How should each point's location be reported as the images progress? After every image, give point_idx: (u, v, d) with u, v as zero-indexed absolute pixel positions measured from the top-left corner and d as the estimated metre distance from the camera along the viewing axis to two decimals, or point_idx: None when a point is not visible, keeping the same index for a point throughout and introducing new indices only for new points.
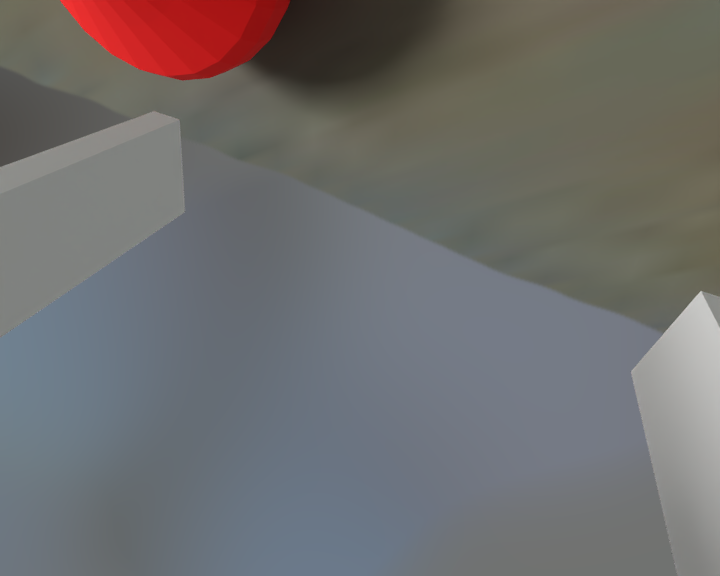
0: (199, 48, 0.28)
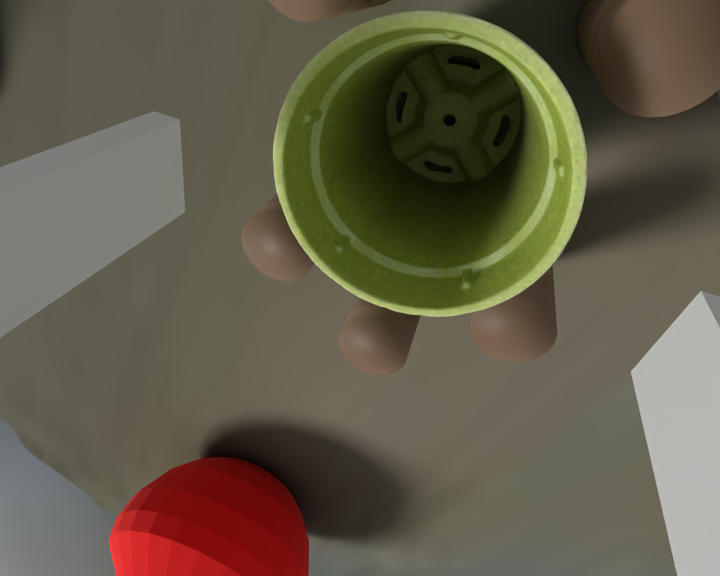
0: None
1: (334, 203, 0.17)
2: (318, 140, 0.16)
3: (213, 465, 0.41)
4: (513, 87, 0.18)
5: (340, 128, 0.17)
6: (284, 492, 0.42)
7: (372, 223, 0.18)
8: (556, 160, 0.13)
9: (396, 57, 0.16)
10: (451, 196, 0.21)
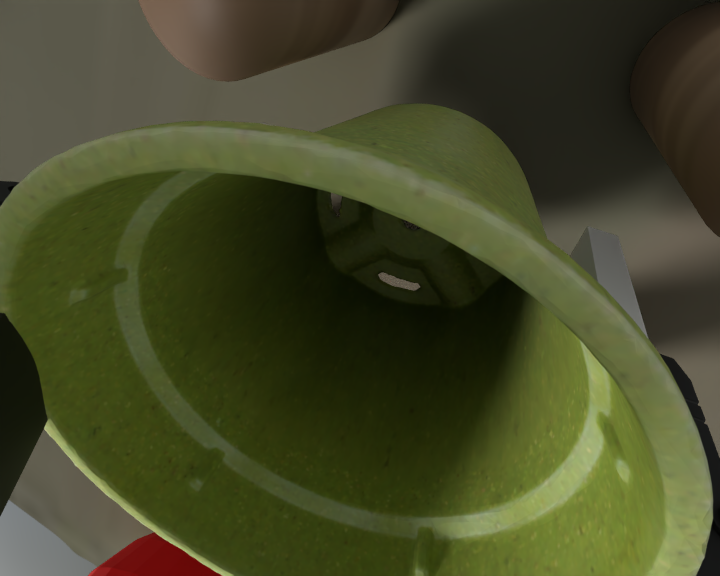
0: None
1: (193, 393, 0.10)
2: (139, 306, 0.08)
3: None
4: None
5: (198, 268, 0.09)
6: None
7: (274, 408, 0.11)
8: (608, 424, 0.06)
9: None
10: (417, 334, 0.13)
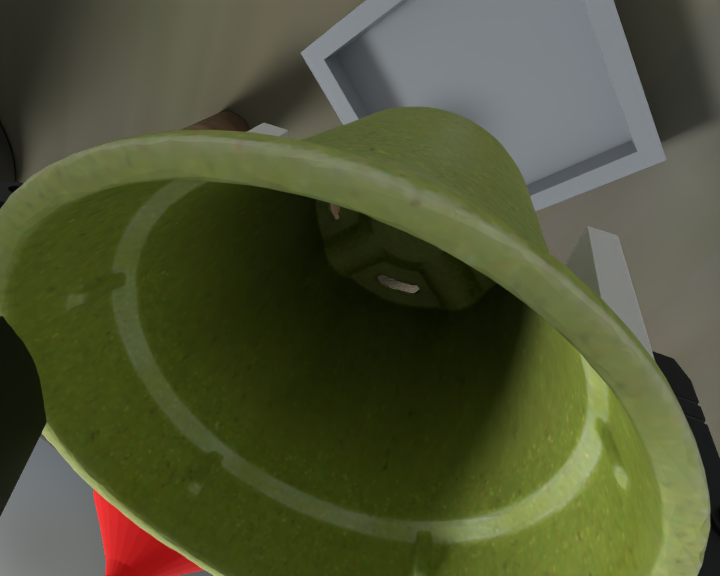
0: None
1: (192, 397, 0.10)
2: (137, 310, 0.08)
3: None
4: None
5: (197, 271, 0.09)
6: None
7: (272, 411, 0.11)
8: (606, 430, 0.06)
9: None
10: (416, 337, 0.13)
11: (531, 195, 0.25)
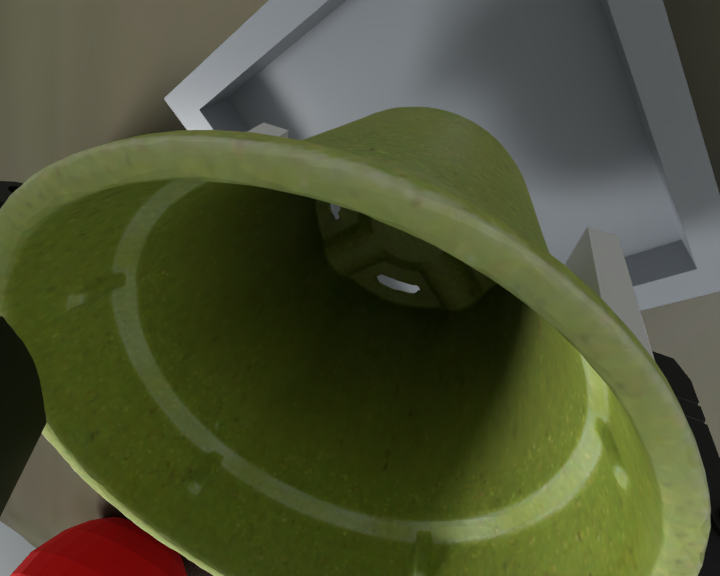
0: None
1: (192, 397, 0.10)
2: (137, 310, 0.08)
3: (98, 529, 0.46)
4: None
5: (197, 271, 0.09)
6: (164, 552, 0.47)
7: (272, 411, 0.11)
8: (605, 430, 0.06)
9: None
10: (416, 337, 0.13)
11: None
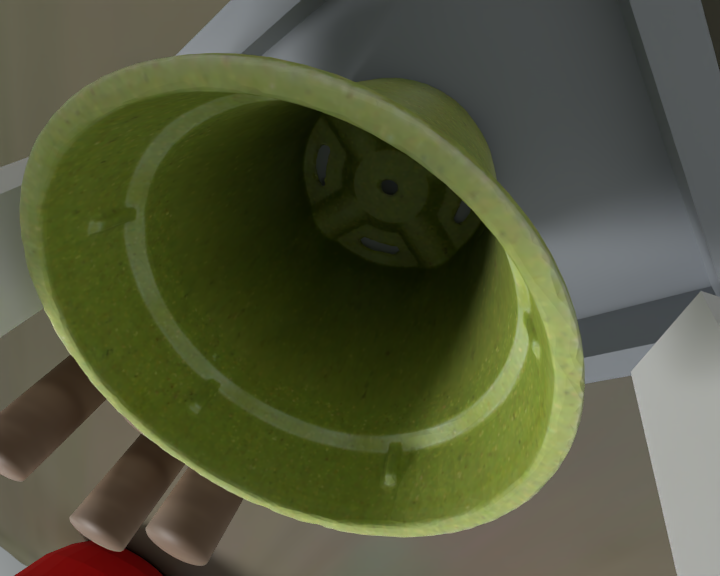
0: None
1: (192, 330, 0.11)
2: (145, 246, 0.10)
3: (79, 555, 0.44)
4: None
5: (196, 218, 0.11)
6: None
7: (264, 349, 0.12)
8: (529, 319, 0.07)
9: (276, 110, 0.10)
10: (395, 291, 0.15)
11: None
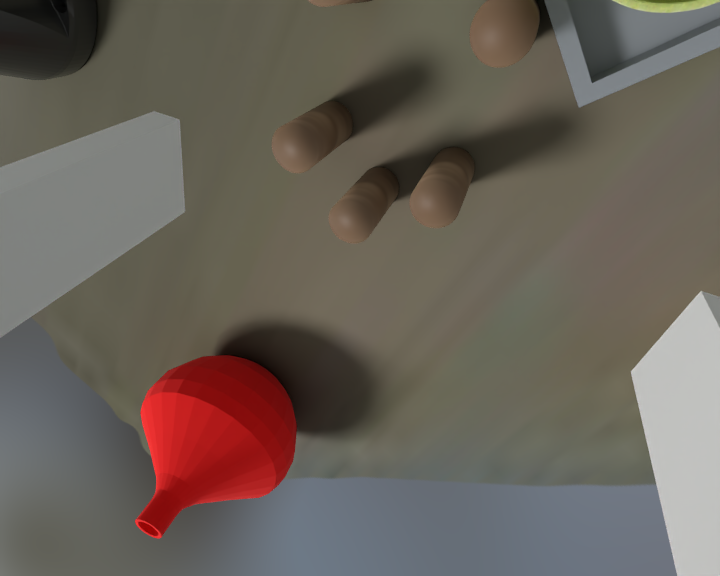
0: (262, 488, 0.49)
1: None
2: None
3: (226, 357, 0.51)
4: None
5: None
6: (280, 384, 0.53)
7: None
8: None
9: None
10: None
11: None
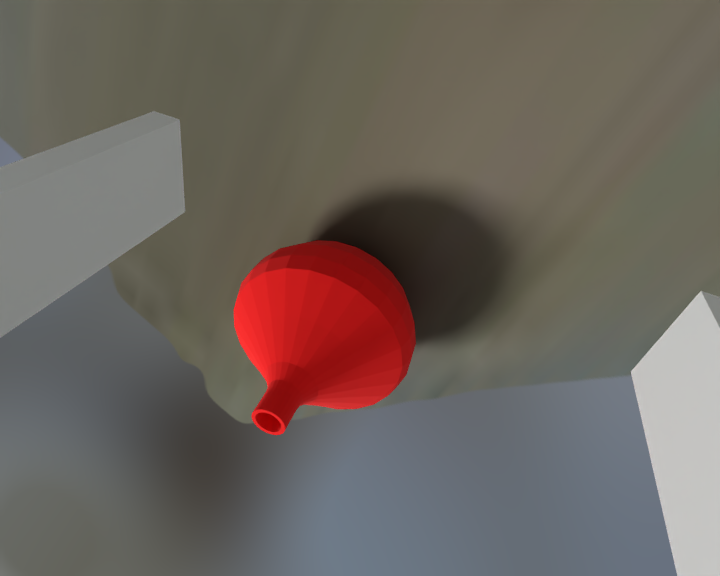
0: (384, 385, 0.42)
1: None
2: None
3: None
4: None
5: None
6: None
7: None
8: None
9: None
10: None
11: None
